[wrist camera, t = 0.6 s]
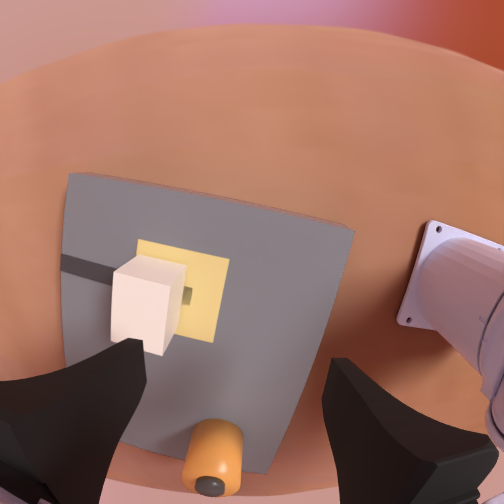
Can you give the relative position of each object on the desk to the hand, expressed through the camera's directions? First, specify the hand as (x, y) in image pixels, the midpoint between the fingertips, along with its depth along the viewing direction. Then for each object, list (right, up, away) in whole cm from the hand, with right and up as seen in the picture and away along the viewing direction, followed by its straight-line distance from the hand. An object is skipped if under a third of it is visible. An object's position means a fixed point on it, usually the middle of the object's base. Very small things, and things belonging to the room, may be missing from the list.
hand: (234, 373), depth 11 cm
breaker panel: (-4, -2, +11) cm, 12 cm away
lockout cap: (-2, -10, +10) cm, 14 cm away
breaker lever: (-5, +2, +8) cm, 9 cm away
